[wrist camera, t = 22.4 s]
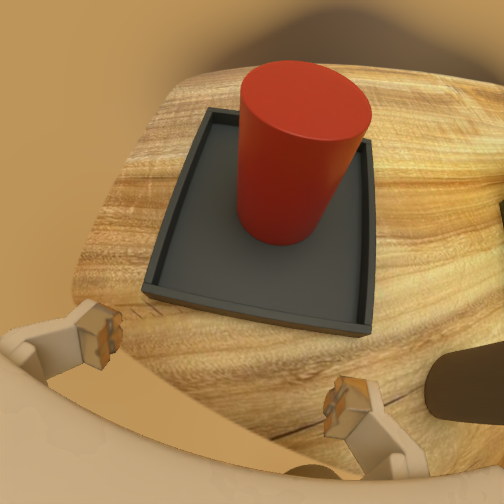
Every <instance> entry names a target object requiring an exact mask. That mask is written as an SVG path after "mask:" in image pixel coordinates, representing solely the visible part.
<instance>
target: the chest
mask: <svg viewBox="0 0 504 504" xmlns="http://www.w3.org/2000/svg"><path fill="white" fill-rule="evenodd" d="M500 208H501V214H502V219H503V225H504V200H503V201H502V202H500Z"/></svg>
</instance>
